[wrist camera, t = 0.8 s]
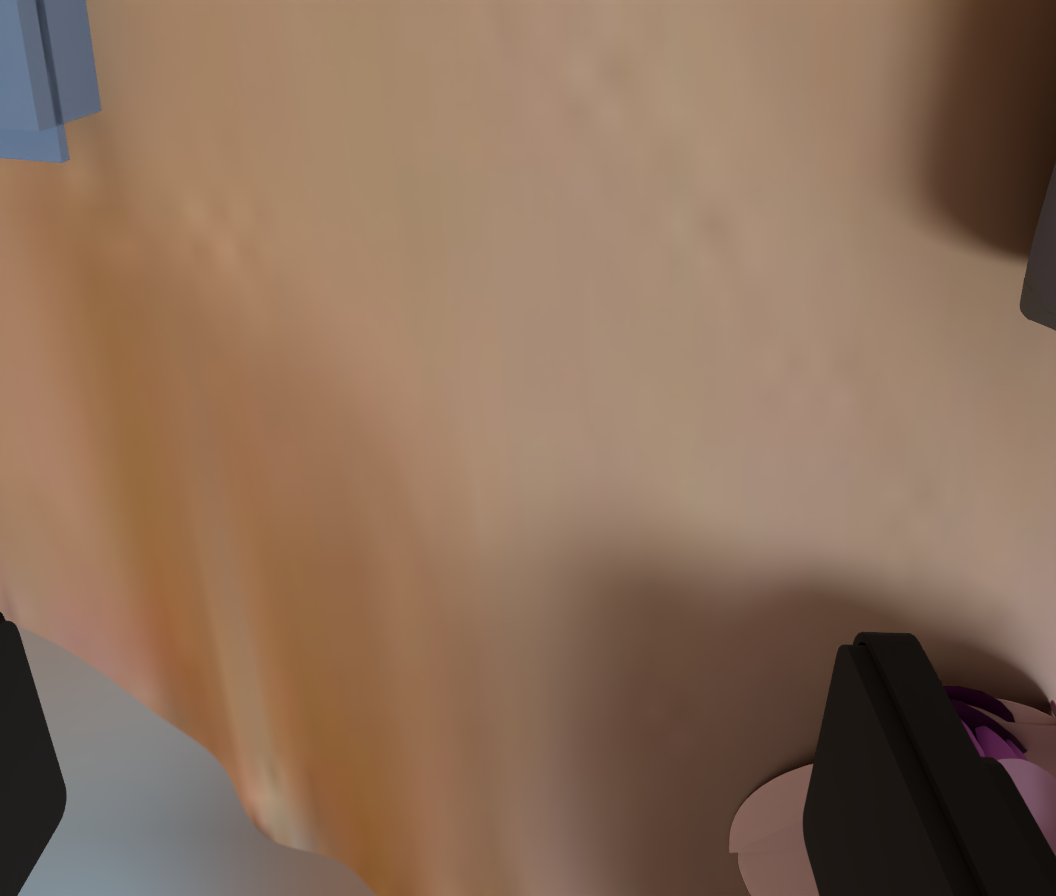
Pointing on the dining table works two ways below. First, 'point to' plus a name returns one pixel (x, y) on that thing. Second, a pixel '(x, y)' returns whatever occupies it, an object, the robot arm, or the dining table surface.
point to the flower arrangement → (777, 807)
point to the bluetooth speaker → (1042, 265)
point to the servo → (44, 76)
